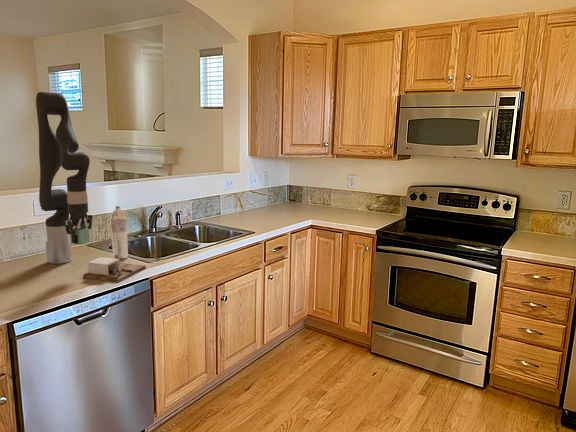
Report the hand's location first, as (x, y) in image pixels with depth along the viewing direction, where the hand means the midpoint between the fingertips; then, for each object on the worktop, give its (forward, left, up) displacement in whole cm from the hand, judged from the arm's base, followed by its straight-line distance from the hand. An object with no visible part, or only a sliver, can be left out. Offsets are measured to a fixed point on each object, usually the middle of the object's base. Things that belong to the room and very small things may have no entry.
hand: (80, 241), depth 182 cm
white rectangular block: (+10, +1, -13) cm, 16 cm away
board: (+12, +6, -14) cm, 19 cm away
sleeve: (0, 0, 0) cm, 0 cm away
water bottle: (0, +26, -14) cm, 30 cm away
